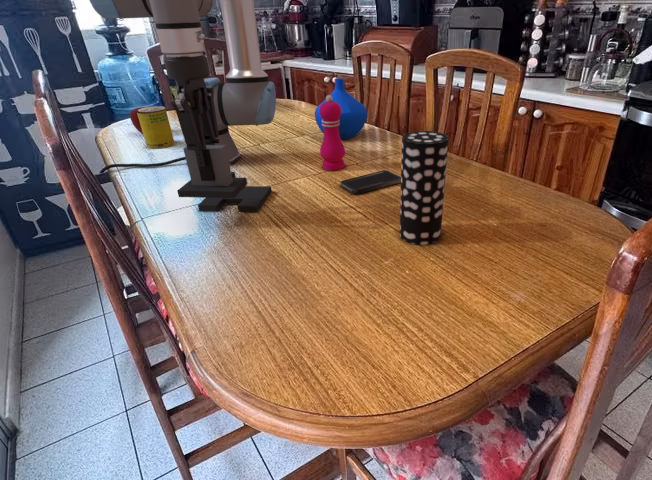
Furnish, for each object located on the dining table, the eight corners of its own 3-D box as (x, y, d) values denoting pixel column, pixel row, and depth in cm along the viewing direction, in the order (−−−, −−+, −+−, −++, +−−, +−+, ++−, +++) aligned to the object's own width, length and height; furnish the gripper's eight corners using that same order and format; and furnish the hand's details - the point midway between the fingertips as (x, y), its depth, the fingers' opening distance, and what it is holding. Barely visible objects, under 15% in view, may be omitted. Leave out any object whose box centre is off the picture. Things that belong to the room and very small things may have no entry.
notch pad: (199, 211, 97) (197, 205, 96) (218, 191, 107) (217, 185, 107) (257, 212, 96) (256, 206, 95) (271, 191, 106) (271, 186, 105)
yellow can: (179, 141, 148) (171, 106, 142) (165, 149, 140) (155, 112, 134) (156, 140, 149) (147, 106, 143) (141, 148, 142) (130, 112, 136)
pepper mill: (342, 171, 118) (338, 98, 107) (317, 170, 119) (311, 97, 109) (348, 163, 124) (345, 92, 113) (325, 162, 125) (319, 92, 115)
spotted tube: (396, 226, 88) (398, 132, 78) (435, 224, 89) (442, 130, 79) (403, 246, 81) (406, 144, 71) (445, 243, 82) (454, 142, 71)
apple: (135, 132, 160) (127, 105, 155) (162, 129, 163) (155, 102, 158) (135, 138, 152) (126, 110, 147) (163, 134, 156) (156, 107, 151)
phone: (338, 181, 108) (385, 169, 115) (338, 185, 108) (385, 173, 115) (354, 191, 102) (403, 178, 109) (354, 195, 103) (403, 182, 110)
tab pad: (178, 197, 86) (166, 152, 81) (202, 177, 96) (193, 136, 91) (234, 198, 85) (225, 152, 80) (252, 178, 95) (246, 136, 90)
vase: (376, 132, 152) (376, 76, 142) (348, 146, 139) (346, 85, 129) (336, 126, 161) (333, 73, 151) (305, 138, 147) (300, 81, 138)
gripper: (185, 59, 69) (214, 191, 81) (221, 50, 82) (241, 165, 94) (142, 59, 69) (177, 191, 81) (184, 51, 83) (209, 165, 95)
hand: (211, 177), depth 88 cm, fingers closed on tab pad, 2 cm apart
